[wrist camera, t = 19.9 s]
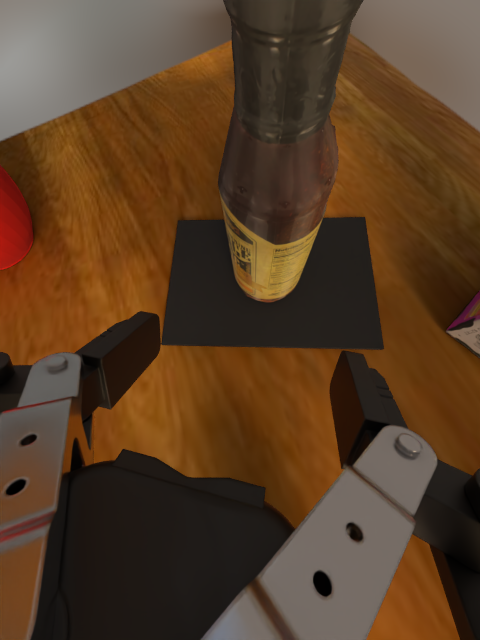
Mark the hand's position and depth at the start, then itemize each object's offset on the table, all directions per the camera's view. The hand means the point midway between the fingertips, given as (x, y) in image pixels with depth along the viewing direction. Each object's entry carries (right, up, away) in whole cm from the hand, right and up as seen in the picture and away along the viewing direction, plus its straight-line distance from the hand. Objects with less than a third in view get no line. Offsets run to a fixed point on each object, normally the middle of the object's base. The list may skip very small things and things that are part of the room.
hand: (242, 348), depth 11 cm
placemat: (+3, +5, +14) cm, 16 cm away
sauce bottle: (+3, +5, +14) cm, 15 cm away
